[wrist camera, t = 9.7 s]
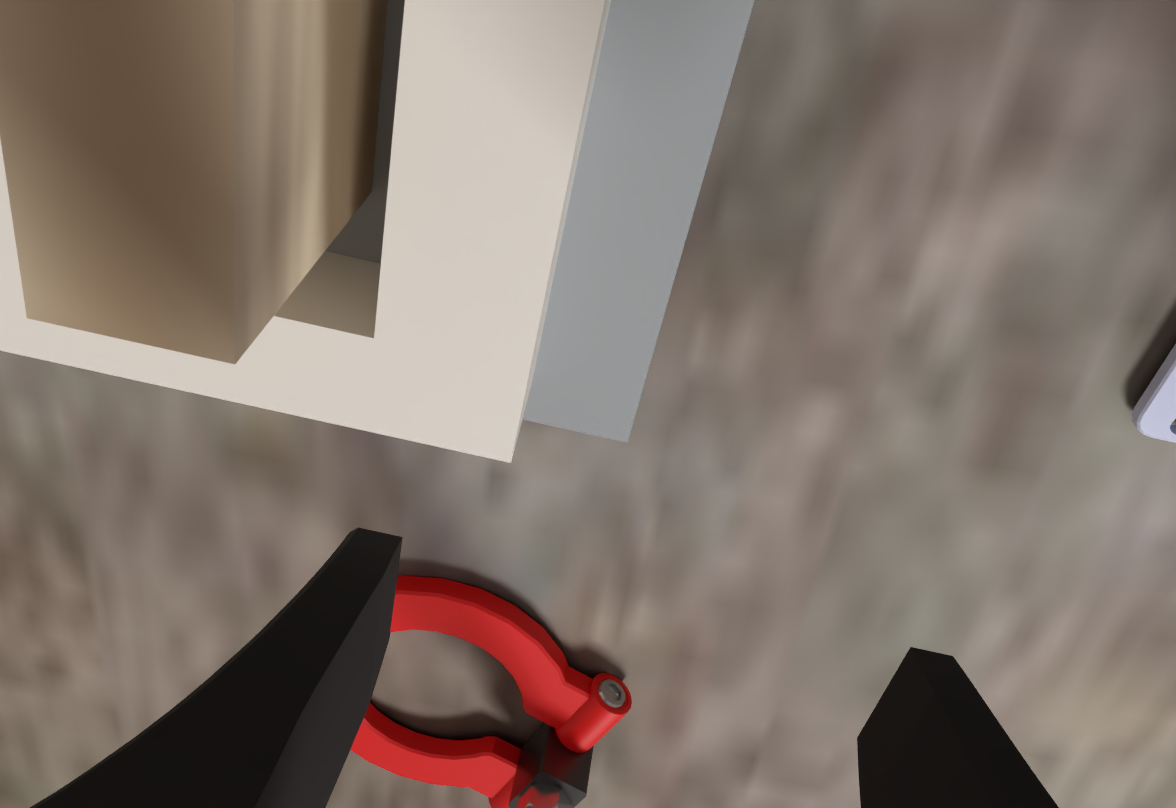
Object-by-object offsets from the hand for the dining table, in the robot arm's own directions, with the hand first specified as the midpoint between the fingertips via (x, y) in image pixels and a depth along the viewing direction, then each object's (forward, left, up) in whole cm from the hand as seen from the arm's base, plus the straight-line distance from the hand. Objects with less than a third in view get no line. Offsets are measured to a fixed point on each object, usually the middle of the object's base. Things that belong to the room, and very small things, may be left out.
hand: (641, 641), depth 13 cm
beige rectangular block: (+8, -4, -9) cm, 13 cm away
